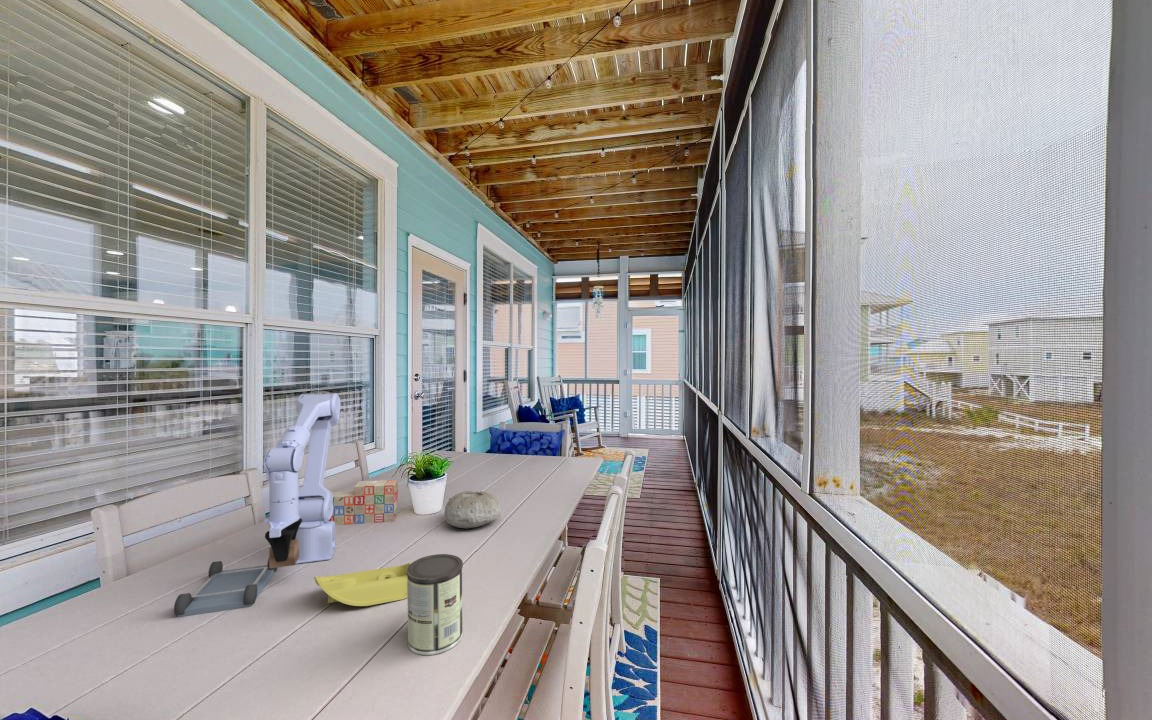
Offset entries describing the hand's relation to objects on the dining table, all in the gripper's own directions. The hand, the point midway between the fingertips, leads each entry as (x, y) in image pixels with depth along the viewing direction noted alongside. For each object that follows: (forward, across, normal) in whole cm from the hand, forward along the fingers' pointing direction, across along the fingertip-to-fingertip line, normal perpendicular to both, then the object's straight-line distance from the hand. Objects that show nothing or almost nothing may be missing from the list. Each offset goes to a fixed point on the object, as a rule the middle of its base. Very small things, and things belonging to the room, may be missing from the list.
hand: (284, 556), depth 105 cm
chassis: (+7, -2, -11) cm, 13 cm away
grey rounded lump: (+8, -26, +46) cm, 53 cm away
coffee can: (+7, +31, +33) cm, 46 cm away
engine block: (+2, 0, 0) cm, 2 cm away
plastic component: (+8, +10, +18) cm, 22 cm away
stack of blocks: (+8, -41, +12) cm, 43 cm away
